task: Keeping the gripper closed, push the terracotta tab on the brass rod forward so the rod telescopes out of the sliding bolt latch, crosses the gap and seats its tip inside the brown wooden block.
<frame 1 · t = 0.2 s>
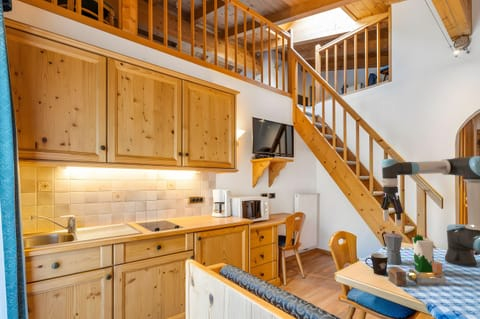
hand: (392, 223, 155), 28 cm above the table, fingers open, 13 cm apart
coffee mug: (377, 273, 154), on the table
moka pot: (392, 262, 170), on the table
sliding bolt latch: (427, 282, 140), on the table
rod: (424, 271, 141), point 6 cm above the table, slide at 0.0 cm
milk carton: (424, 272, 154), on the table
brown wooden block: (397, 282, 140), on the table
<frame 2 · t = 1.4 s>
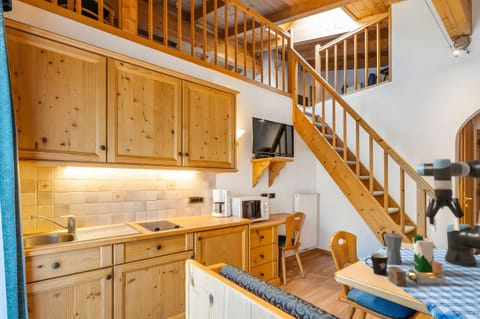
hand: (445, 230, 142), 26 cm above the table, fingers open, 11 cm apart
nothing on the table moved.
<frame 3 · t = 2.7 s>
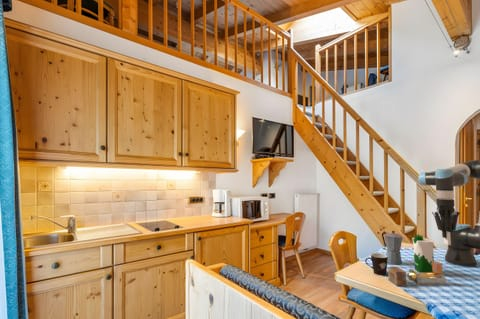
hand: (447, 244, 141), 19 cm above the table, fingers closed
nothing on the table moved.
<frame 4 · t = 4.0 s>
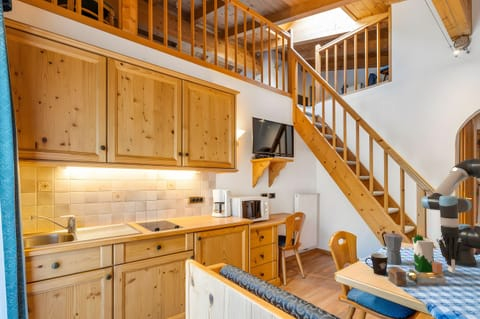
hand: (451, 271, 141), 5 cm above the table, fingers closed
nothing on the table moved.
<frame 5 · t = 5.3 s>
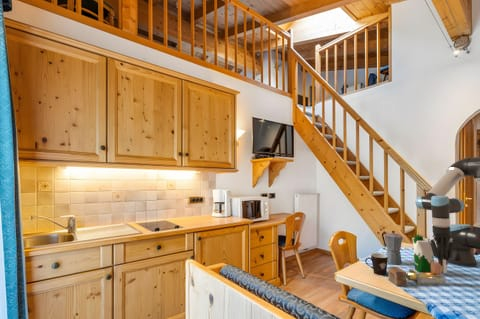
hand: (443, 271, 141), 5 cm above the table, fingers closed
rod: (423, 271, 141), point 6 cm above the table, slide at 0.8 cm, touching gripper
everything else where it was.
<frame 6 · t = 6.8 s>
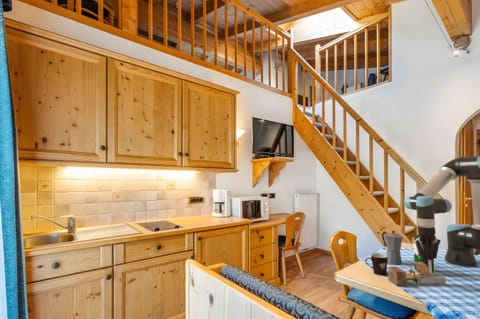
hand: (428, 272, 141), 5 cm above the table, fingers closed
rod: (409, 271, 141), point 6 cm above the table, slide at 8.2 cm, touching gripper
everything else where it was.
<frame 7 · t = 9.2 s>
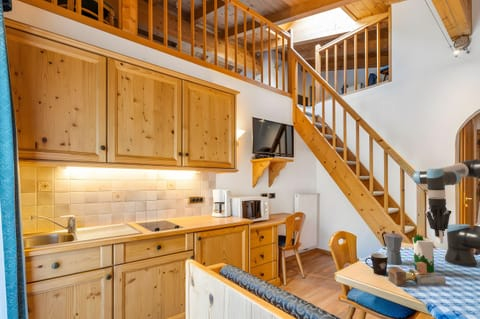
hand: (440, 242, 143), 19 cm above the table, fingers closed
rod: (409, 271, 141), point 6 cm above the table, slide at 8.0 cm
everything else where it was.
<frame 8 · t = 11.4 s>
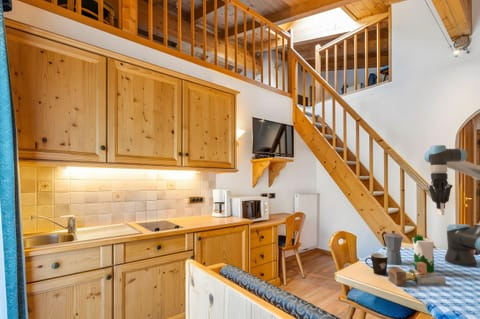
hand: (441, 214, 153), 32 cm above the table, fingers closed
nothing on the table moved.
at the end: rod slide at 8.0 cm; rod 0.2 cm from the target spot, resting on sliding bolt latch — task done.
